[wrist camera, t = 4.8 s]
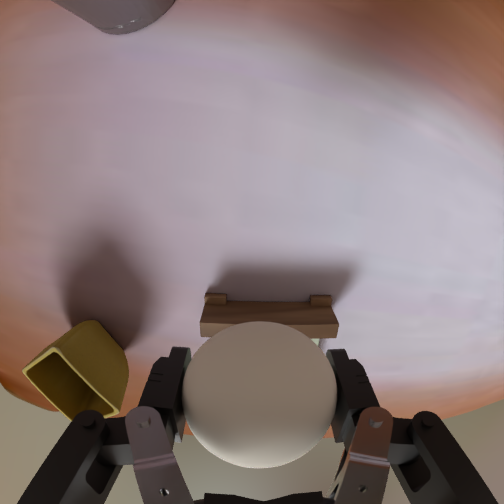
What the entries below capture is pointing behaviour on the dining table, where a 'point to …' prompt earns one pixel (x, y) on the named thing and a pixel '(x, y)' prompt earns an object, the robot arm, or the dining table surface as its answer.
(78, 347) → the flower pot
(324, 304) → the rail
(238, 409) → the ball
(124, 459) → the robot arm
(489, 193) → the dining table surface
